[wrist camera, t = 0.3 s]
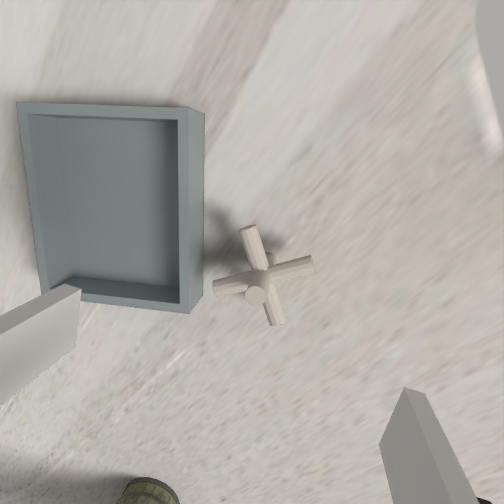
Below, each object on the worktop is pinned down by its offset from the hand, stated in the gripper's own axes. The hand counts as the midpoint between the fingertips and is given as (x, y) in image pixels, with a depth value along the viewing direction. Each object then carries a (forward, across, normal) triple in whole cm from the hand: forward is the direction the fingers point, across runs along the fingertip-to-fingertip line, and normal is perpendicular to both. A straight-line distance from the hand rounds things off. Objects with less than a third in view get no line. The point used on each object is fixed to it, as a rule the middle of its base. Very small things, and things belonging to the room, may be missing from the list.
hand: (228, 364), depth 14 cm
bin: (+25, -17, -1) cm, 30 cm away
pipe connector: (+25, 0, -3) cm, 26 cm away
